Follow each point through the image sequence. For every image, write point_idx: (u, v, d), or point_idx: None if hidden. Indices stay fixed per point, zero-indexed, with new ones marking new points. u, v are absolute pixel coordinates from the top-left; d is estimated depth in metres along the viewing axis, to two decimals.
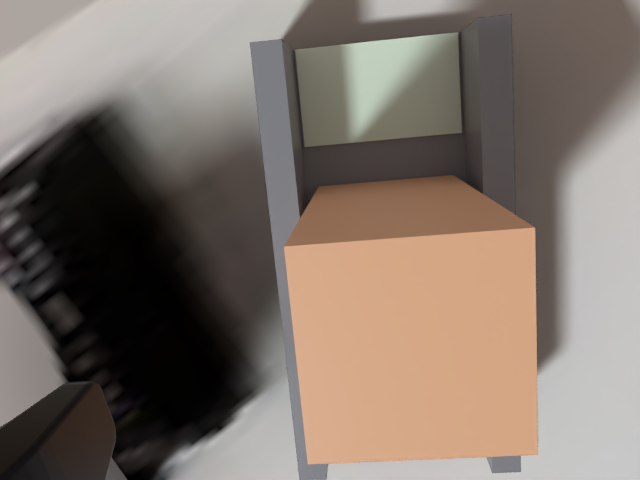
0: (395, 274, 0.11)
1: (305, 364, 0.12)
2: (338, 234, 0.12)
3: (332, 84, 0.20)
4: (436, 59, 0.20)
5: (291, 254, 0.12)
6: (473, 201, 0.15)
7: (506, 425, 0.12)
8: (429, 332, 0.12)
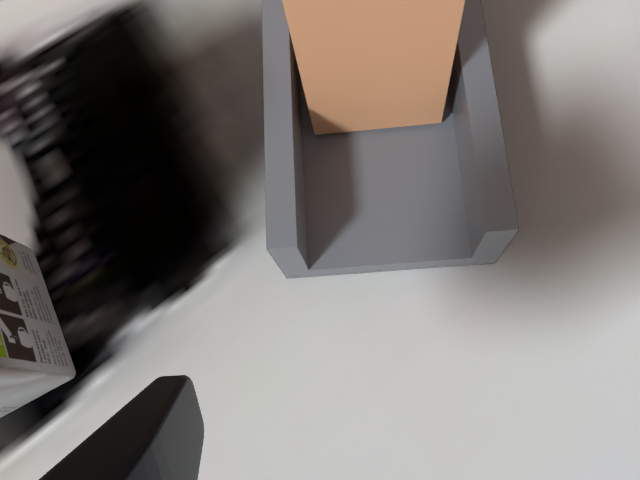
0: None
1: None
2: None
3: None
4: None
5: None
6: None
7: None
8: None
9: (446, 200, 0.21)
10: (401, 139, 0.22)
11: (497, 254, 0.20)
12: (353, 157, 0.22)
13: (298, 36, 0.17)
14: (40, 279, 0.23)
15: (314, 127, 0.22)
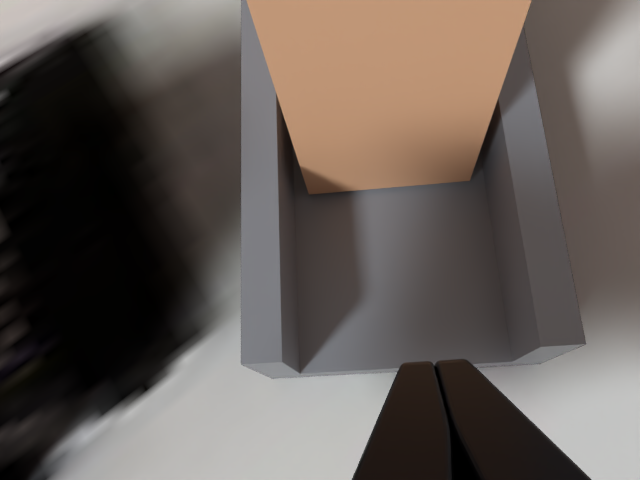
0: None
1: None
2: None
3: None
4: None
5: None
6: None
7: None
8: None
9: (477, 283, 0.16)
10: (419, 200, 0.18)
11: (546, 359, 0.15)
12: (358, 224, 0.17)
13: (283, 82, 0.12)
14: None
15: (308, 186, 0.17)
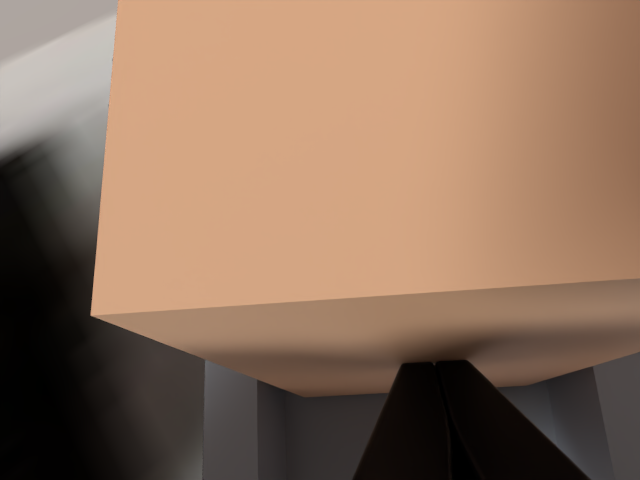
0: None
1: (141, 3, 0.04)
2: None
3: None
4: None
5: None
6: None
7: None
8: None
9: None
10: None
11: None
12: None
13: (257, 372, 0.07)
14: None
15: (303, 395, 0.12)
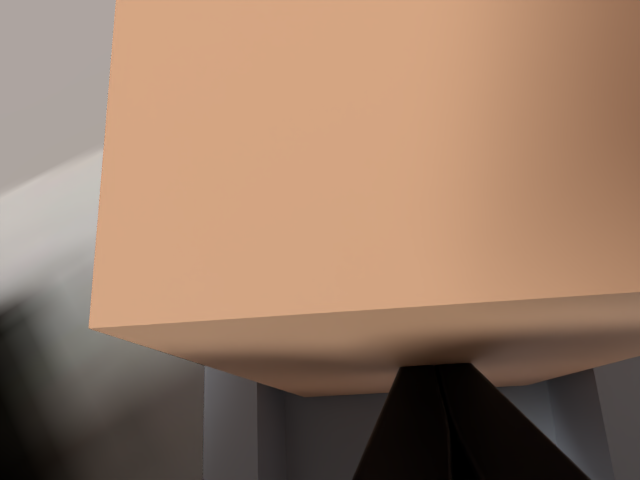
0: None
1: (139, 9, 0.04)
2: None
3: None
4: None
5: None
6: None
7: None
8: None
9: None
10: None
11: None
12: None
13: (258, 375, 0.07)
14: None
15: (303, 395, 0.12)
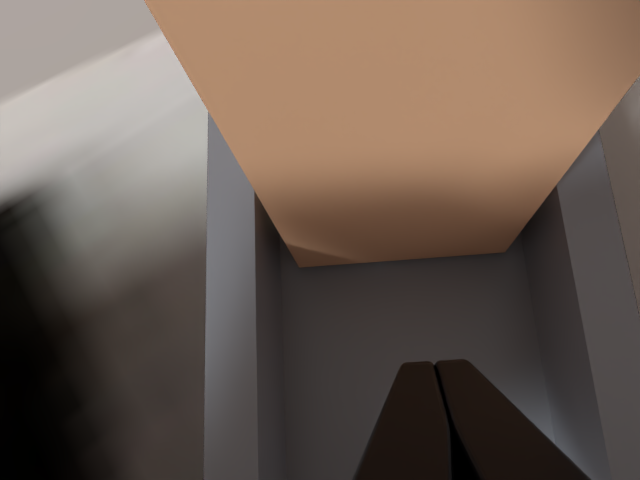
0: None
1: None
2: None
3: None
4: None
5: None
6: None
7: None
8: None
9: None
10: None
11: None
12: None
13: (255, 164, 0.08)
14: None
15: (298, 261, 0.13)
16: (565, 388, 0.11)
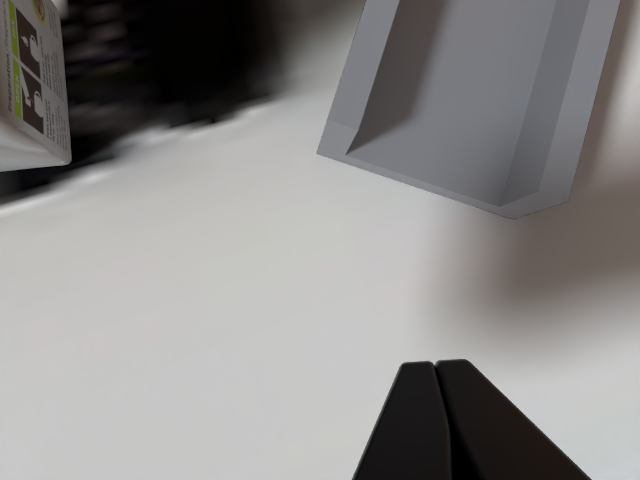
0: None
1: None
2: None
3: None
4: None
5: None
6: None
7: None
8: None
9: (499, 143, 0.21)
10: (482, 63, 0.21)
11: (524, 213, 0.20)
12: (430, 62, 0.21)
13: None
14: (60, 47, 0.20)
15: None
16: None
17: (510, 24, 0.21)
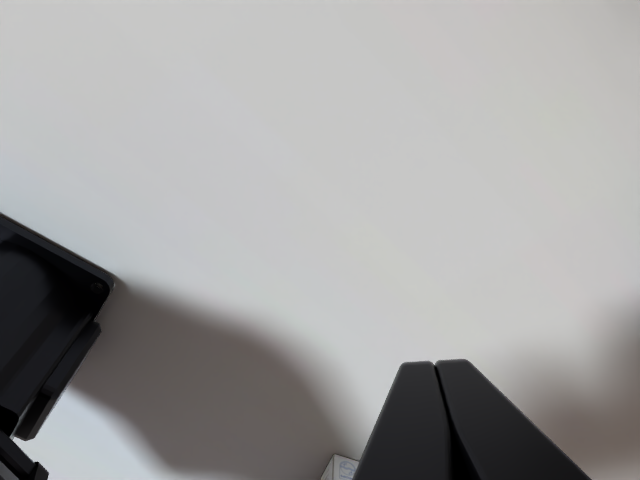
0: None
1: None
2: None
3: None
4: None
5: None
6: None
7: None
8: None
9: None
10: None
11: None
12: None
13: None
14: None
15: None
16: None
17: None
